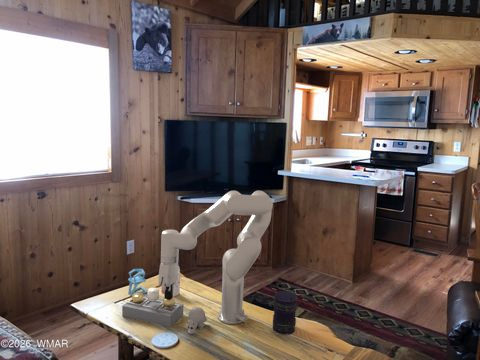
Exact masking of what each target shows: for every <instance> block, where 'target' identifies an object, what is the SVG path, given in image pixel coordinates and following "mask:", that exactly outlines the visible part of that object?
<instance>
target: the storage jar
mask: <svg viewBox="0 0 480 360" xmlns="http://www.w3.org/2000/svg"><path fill="white" fill-rule="evenodd" d="M273 298H274V299H273V311H274V312H273V314H272V330H273V331H274V333H276V334H279V335H284V336H287V335H292V334H294V333H295V331H296V324H297V322H296V321H297V319H296V318H297V317H296V313H297V312H296V311H297V309H298V308H297V306H298V303H297V302H298V296H297V295H296V294H295V293H293V292H291V291H287V290H283V291H277V292H275V293H274V297H273Z"/></svg>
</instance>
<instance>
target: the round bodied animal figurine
mask: <svg viewBox="0 0 480 360" xmlns="http://www.w3.org/2000/svg"><path fill="white" fill-rule="evenodd" d="M187 317H188V320H189V321H187V320H186V324H187V325H186V327H187V334H189V335H193V334H194V333H195V330H196V329H197V327H198V328H199V329H204V326H205V324H204V323H206V322H207V320H208V319H207V316H206V312H205V310H204V309H203V307H200V306H195V307H192V308H191V309H190V310H189V312H188V315H187Z"/></svg>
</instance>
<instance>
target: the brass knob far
mask: <svg viewBox="0 0 480 360" xmlns="http://www.w3.org/2000/svg"><path fill="white" fill-rule="evenodd" d="M134 293H135V292H134ZM144 296H145V295H144V294H142V293H135V294H133V295H132V296H131V299H132V303H136V304H141V303H142V302H143V301H144Z"/></svg>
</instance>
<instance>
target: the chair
mask: <svg viewBox="0 0 480 360" xmlns="http://www.w3.org/2000/svg"><path fill="white" fill-rule="evenodd" d="M134 272H137V273H136V274H135V275H133V276H132V274H133V273H134ZM128 275H129V278H128V279H127V280H128V282H129V286H128V293H127V294H128V295H129V294H130V296H131V297H132V295H133V294H135V293H142V294H143V295H144V294H148V289H147V290H146V289H145V288H144V287H142V286H141V285H140V284H142V283H144V282H145V283H146V281H147V279H146V278H145V275H146V271H144V269H143V268H133V269H132V270H130V271H129V272H128ZM133 285H134V286H133ZM139 285H140V286H139ZM132 287H133V288H132ZM138 290H142V291H138Z"/></svg>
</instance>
